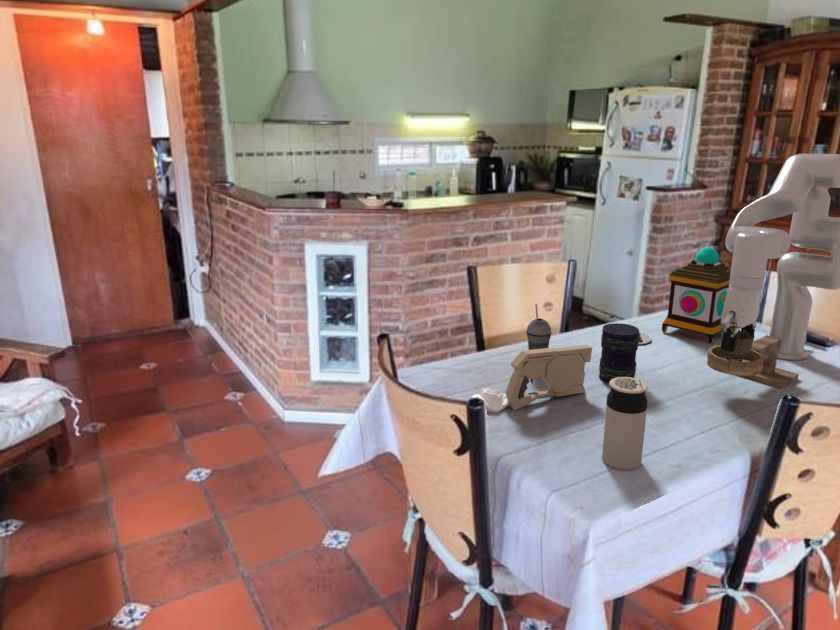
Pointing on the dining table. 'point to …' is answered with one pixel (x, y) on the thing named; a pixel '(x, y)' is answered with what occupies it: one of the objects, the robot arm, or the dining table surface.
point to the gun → (548, 373)
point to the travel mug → (625, 423)
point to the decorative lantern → (699, 295)
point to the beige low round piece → (645, 337)
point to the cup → (740, 346)
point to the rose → (493, 399)
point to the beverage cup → (538, 333)
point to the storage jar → (618, 351)
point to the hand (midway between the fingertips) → (736, 346)
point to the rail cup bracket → (754, 363)
